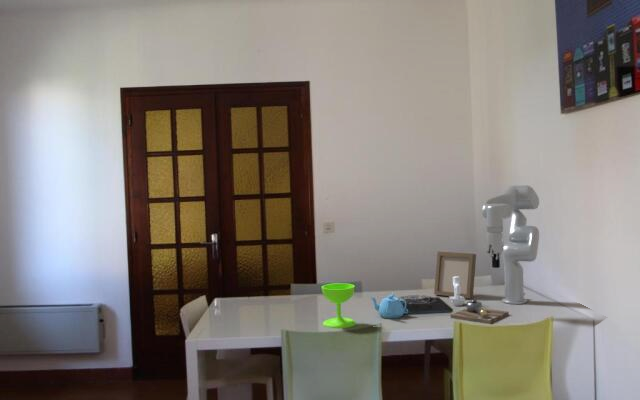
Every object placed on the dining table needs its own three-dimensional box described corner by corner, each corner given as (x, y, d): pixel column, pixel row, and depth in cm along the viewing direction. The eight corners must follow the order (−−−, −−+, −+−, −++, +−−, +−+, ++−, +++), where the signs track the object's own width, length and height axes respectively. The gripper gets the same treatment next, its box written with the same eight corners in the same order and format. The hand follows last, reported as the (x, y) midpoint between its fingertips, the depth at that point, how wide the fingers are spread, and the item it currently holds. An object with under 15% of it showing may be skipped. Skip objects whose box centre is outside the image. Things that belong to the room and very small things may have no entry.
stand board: (471, 309, 288) (470, 306, 288) (508, 314, 274) (508, 311, 274) (450, 317, 272) (450, 314, 272) (489, 323, 259) (489, 320, 259)
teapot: (412, 316, 278) (411, 295, 278) (388, 321, 270) (387, 300, 270) (393, 311, 290) (392, 291, 290) (369, 315, 282) (369, 295, 282)
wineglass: (363, 323, 267) (361, 286, 266) (336, 330, 258) (334, 291, 257) (342, 317, 280) (341, 282, 279) (316, 323, 271) (314, 286, 270)
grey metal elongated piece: (465, 309, 281) (465, 299, 281) (479, 308, 281) (478, 298, 281) (477, 318, 262) (477, 307, 262) (492, 318, 262) (491, 307, 262)
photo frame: (469, 300, 309) (468, 254, 309) (434, 295, 324) (432, 252, 323) (481, 295, 321) (479, 251, 320) (446, 291, 335) (445, 249, 334)
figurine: (452, 306, 295) (451, 278, 294) (448, 302, 304) (447, 275, 304) (466, 306, 295) (465, 278, 294) (462, 302, 304) (461, 274, 304)
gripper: (494, 228, 283) (495, 264, 283) (480, 231, 272) (481, 269, 272) (508, 229, 278) (509, 265, 278) (495, 231, 267) (496, 270, 267)
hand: (496, 267), depth 275 cm, fingers closed
